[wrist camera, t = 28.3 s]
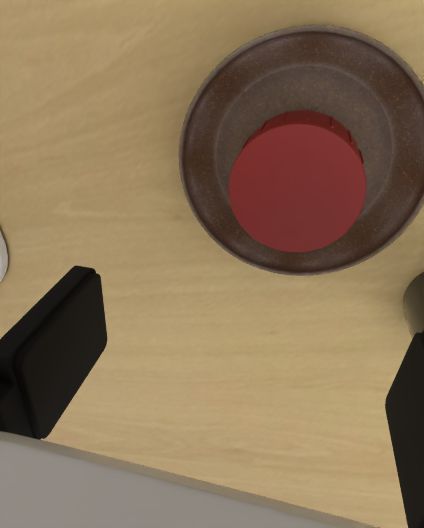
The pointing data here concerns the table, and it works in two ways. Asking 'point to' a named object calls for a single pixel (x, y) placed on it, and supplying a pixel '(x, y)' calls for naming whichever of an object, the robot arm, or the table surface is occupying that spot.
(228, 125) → the saucer
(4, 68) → the table surface
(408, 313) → the thermos
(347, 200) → the lid
